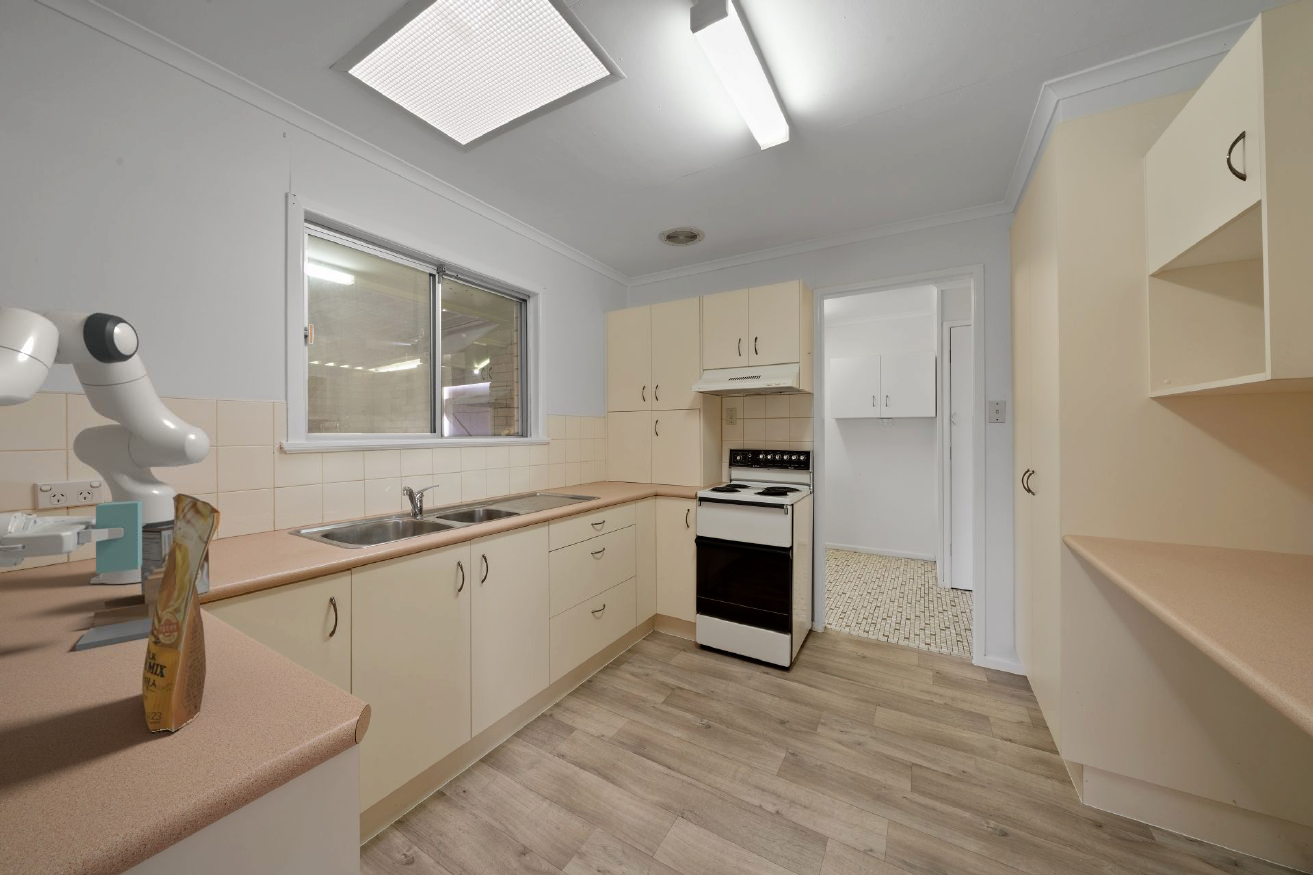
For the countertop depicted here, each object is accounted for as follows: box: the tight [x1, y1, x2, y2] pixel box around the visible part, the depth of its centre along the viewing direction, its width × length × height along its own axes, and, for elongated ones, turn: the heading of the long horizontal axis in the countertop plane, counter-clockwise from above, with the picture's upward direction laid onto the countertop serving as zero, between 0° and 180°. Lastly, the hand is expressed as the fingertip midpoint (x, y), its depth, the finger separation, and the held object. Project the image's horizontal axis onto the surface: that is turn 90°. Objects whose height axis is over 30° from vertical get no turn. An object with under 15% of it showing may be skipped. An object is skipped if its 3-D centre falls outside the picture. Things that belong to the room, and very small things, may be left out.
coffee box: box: [140, 525, 211, 595], centre depth 107 cm, size 9×6×16 cm
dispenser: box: [93, 565, 165, 628], centre depth 97 cm, size 9×12×9 cm
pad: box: [75, 618, 153, 652], centre depth 87 cm, size 9×9×1 cm
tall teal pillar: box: [95, 501, 142, 575], centre depth 86 cm, size 4×5×12 cm
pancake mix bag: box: [141, 493, 221, 733], centre depth 64 cm, size 7×19×28 cm, turn 48°
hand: (127, 529), depth 87 cm, fingers closed on tall teal pillar, 4 cm apart
